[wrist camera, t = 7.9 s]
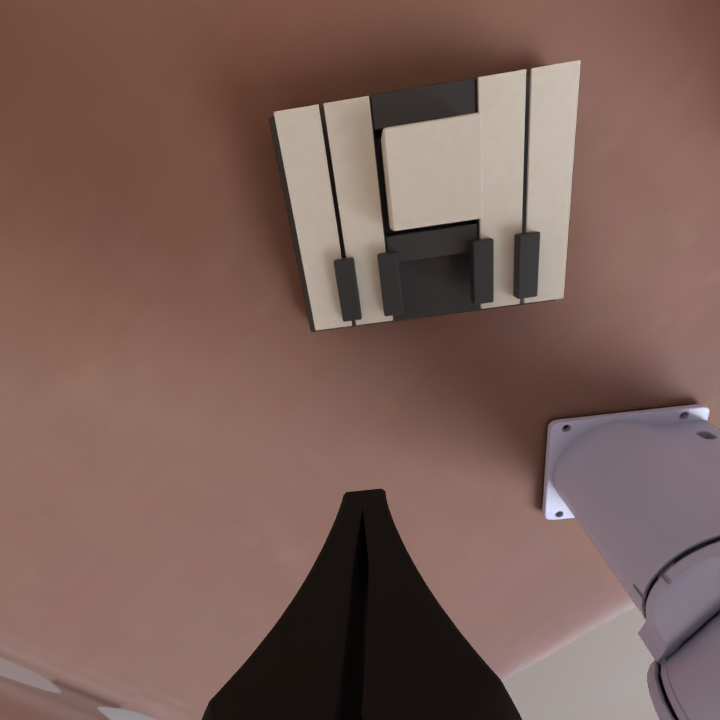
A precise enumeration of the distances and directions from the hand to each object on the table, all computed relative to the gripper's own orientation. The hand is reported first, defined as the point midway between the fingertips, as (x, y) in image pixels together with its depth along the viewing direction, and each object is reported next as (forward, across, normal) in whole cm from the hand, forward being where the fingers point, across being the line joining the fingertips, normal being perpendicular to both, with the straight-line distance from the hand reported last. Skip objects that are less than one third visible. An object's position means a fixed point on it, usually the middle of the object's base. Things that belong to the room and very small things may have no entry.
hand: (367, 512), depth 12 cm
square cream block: (+8, -4, -11) cm, 14 cm away
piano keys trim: (+7, -4, -9) cm, 12 cm away
